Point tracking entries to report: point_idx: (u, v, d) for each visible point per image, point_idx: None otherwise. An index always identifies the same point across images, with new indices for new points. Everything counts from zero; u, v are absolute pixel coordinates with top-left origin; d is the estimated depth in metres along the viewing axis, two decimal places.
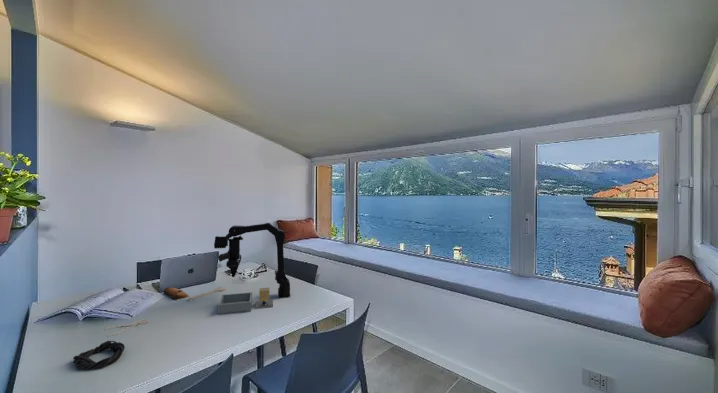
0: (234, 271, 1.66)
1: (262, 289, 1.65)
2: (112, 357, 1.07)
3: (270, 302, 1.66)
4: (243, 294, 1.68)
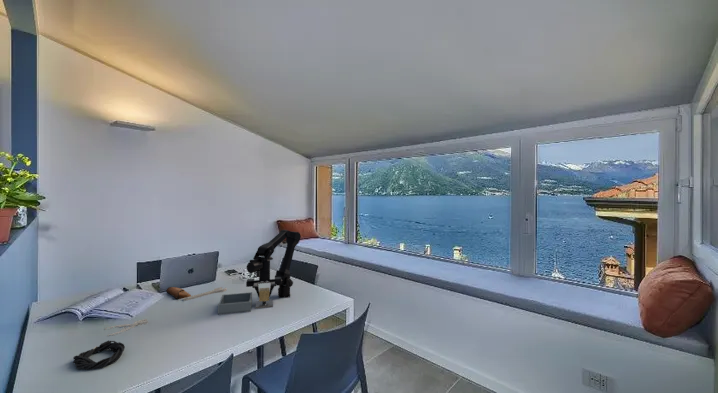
0: None
1: (262, 289, 1.65)
2: (112, 357, 1.07)
3: (270, 302, 1.66)
4: (243, 294, 1.68)
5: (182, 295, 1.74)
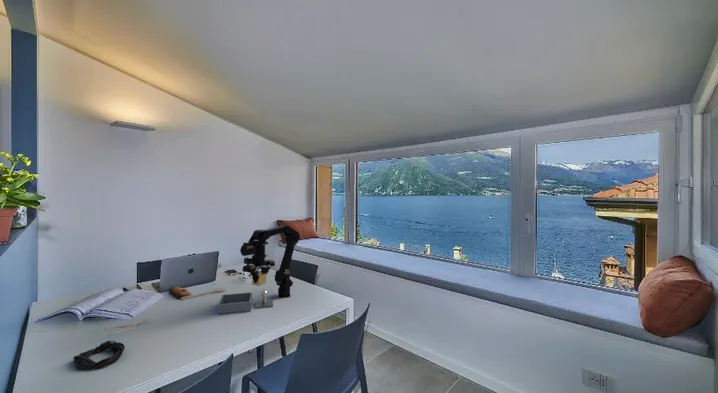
0: (254, 277, 1.60)
1: None
2: (112, 357, 1.07)
3: (270, 302, 1.66)
4: (243, 294, 1.68)
5: (183, 295, 1.74)
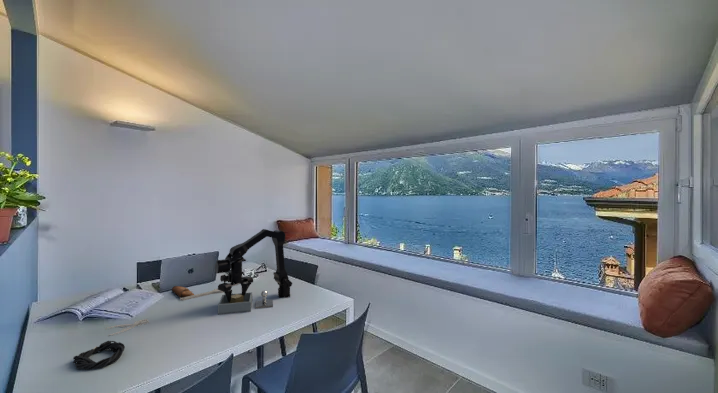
0: (228, 296, 1.55)
1: (234, 296, 1.60)
2: (112, 357, 1.07)
3: (270, 302, 1.66)
4: None
5: (186, 294, 1.75)
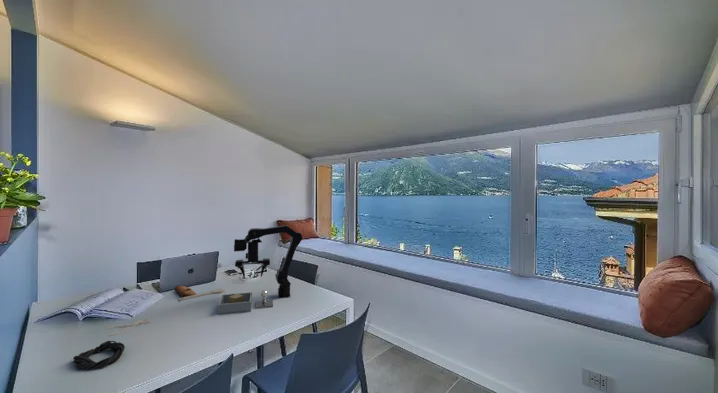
0: None
1: (234, 296, 1.60)
2: (112, 357, 1.07)
3: (270, 302, 1.66)
4: (243, 294, 1.68)
5: (188, 294, 1.76)
